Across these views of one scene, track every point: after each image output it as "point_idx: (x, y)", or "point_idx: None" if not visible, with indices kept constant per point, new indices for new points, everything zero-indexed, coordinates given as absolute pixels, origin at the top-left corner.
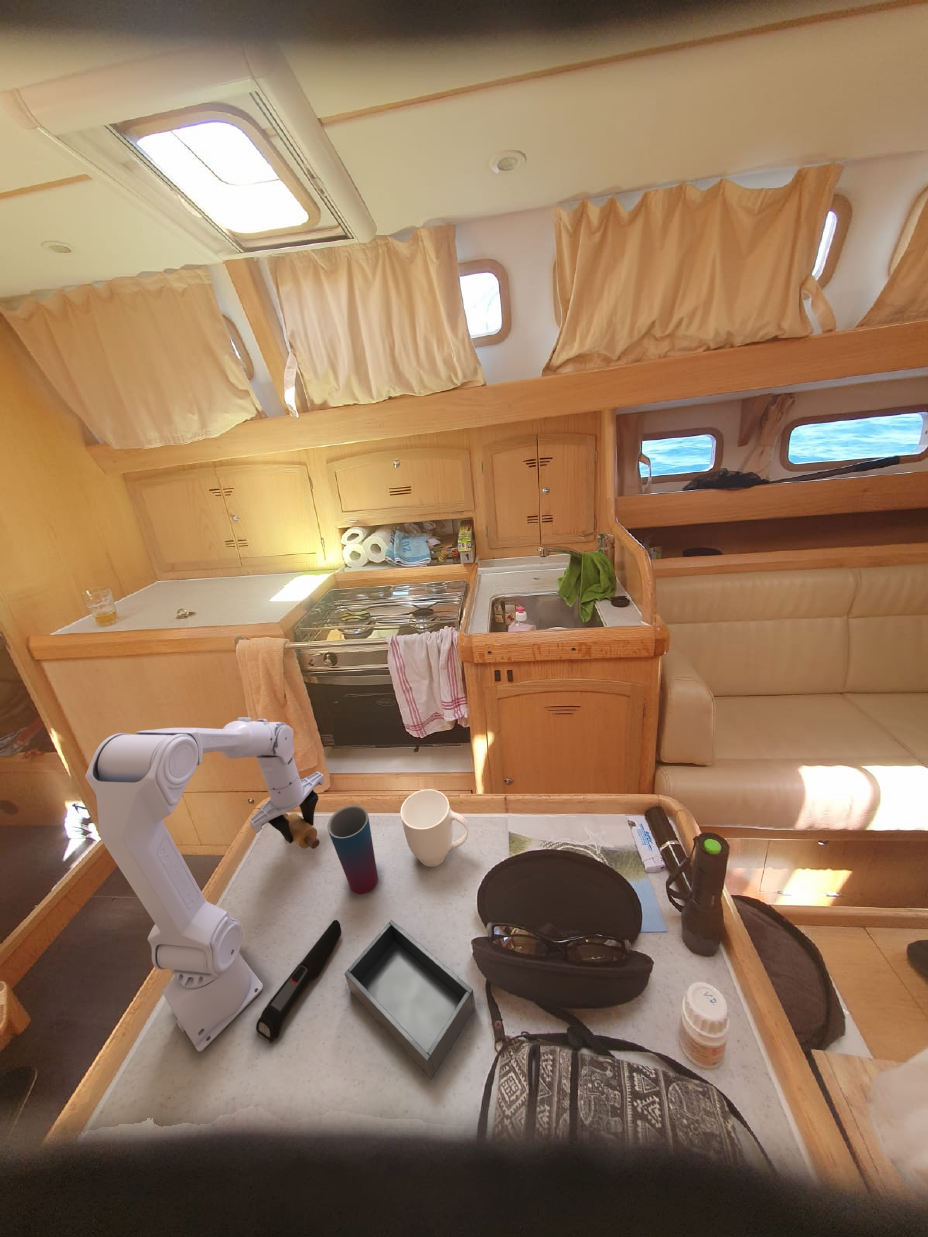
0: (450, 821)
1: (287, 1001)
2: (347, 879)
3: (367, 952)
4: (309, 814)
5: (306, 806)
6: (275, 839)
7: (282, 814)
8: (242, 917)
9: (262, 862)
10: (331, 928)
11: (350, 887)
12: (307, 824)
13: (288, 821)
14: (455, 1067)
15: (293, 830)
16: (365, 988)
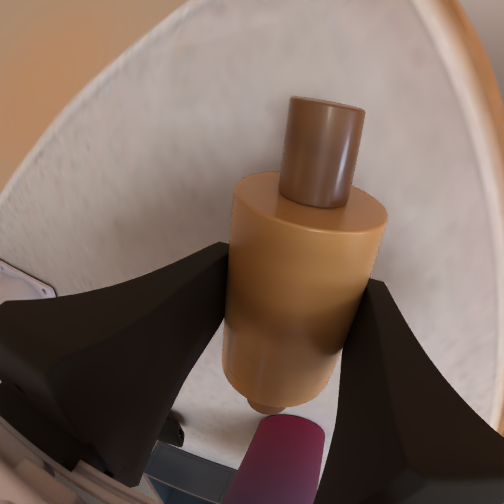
0: None
1: None
2: (247, 452)
3: (174, 487)
4: (333, 433)
5: (323, 493)
6: (275, 61)
7: (111, 474)
8: (69, 231)
9: (169, 118)
10: (165, 442)
11: (260, 425)
12: (310, 379)
13: (136, 481)
14: None
15: (236, 333)
16: (151, 483)
